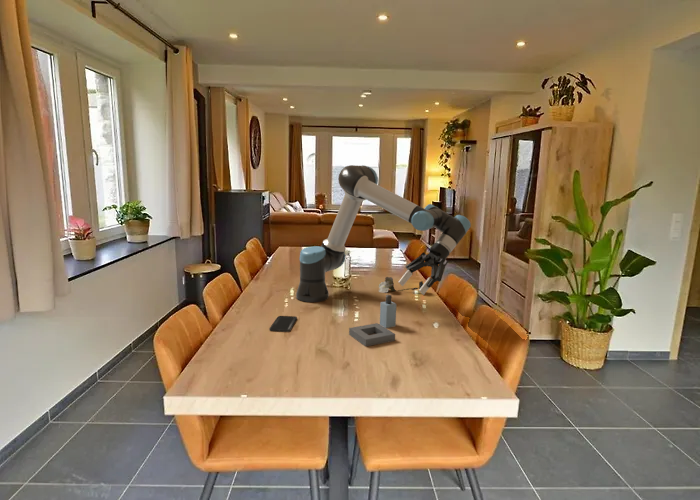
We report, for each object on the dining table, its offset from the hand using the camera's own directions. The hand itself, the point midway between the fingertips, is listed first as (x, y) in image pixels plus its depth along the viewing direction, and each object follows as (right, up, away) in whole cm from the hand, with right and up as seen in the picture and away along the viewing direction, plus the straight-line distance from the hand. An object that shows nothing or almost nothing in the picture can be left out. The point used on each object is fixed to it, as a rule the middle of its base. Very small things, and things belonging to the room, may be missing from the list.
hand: (410, 288), depth 167 cm
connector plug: (-9, -14, -2) cm, 17 cm away
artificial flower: (+1, -7, +44) cm, 45 cm away
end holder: (-16, -16, -14) cm, 27 cm away
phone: (-49, -14, -3) cm, 51 cm away
